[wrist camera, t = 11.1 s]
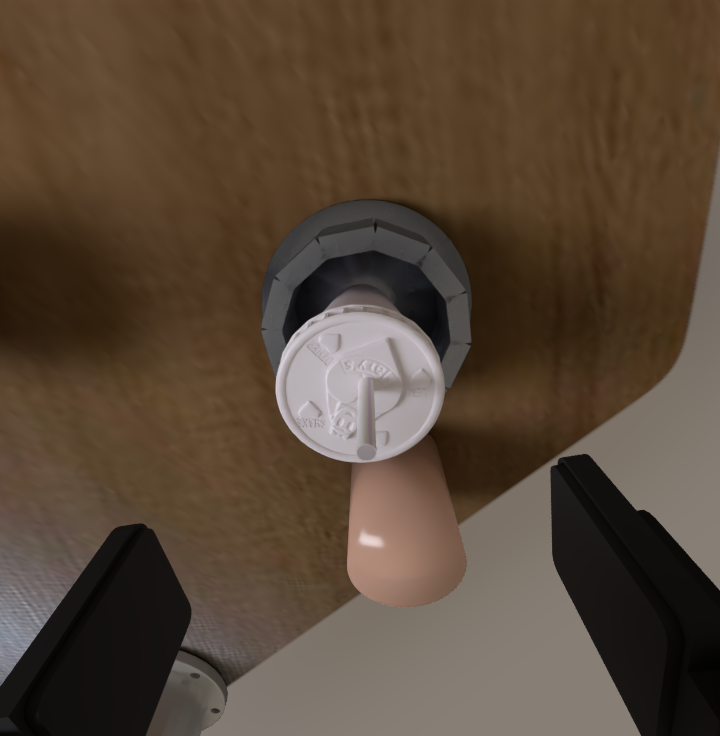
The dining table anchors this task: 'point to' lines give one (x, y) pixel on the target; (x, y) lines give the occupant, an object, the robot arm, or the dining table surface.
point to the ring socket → (370, 275)
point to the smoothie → (360, 379)
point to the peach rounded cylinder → (404, 529)
